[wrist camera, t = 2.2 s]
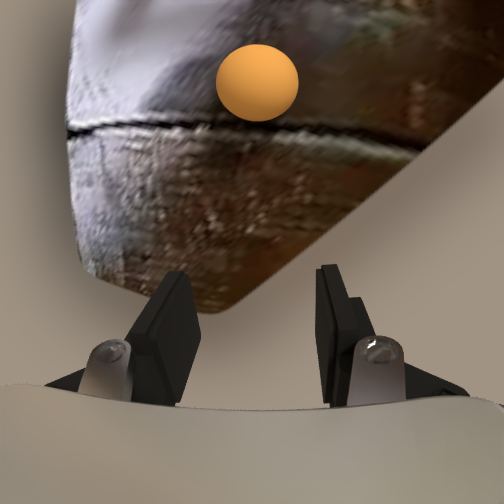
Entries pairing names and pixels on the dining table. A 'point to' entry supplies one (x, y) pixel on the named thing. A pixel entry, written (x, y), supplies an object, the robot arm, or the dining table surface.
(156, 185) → the dining table surface
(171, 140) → the dining table surface
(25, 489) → the robot arm
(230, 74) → the ball
